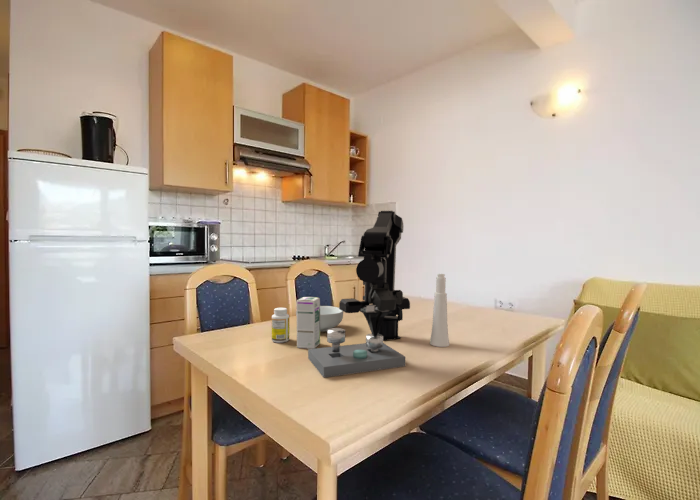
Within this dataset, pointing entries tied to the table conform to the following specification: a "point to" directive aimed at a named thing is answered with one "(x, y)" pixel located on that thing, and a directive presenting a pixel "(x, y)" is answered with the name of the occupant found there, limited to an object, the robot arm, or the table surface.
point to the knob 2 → (374, 342)
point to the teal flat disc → (360, 354)
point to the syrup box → (308, 322)
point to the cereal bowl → (329, 317)
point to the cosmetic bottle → (440, 315)
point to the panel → (353, 360)
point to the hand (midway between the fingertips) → (374, 335)
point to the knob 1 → (336, 338)
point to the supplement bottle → (280, 325)
